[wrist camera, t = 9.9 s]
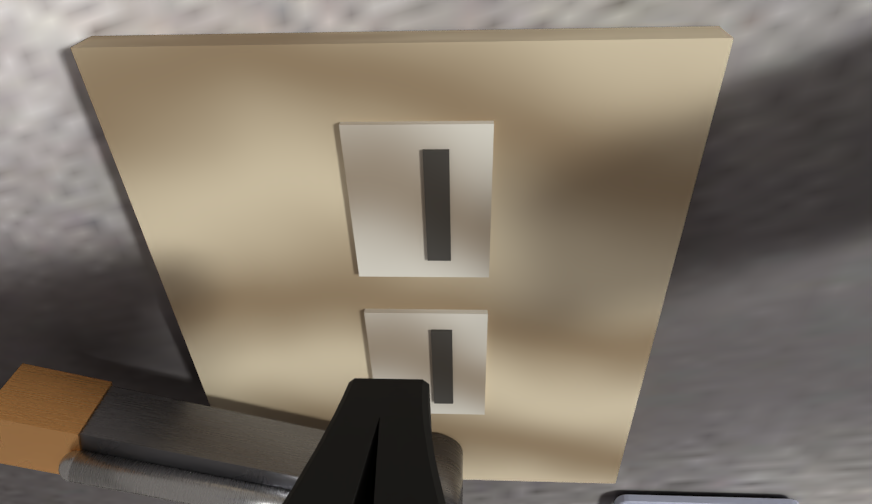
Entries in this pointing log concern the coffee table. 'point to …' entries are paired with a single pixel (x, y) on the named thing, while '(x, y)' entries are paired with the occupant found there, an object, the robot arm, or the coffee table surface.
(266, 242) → the label board
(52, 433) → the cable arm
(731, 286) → the coffee table surface
